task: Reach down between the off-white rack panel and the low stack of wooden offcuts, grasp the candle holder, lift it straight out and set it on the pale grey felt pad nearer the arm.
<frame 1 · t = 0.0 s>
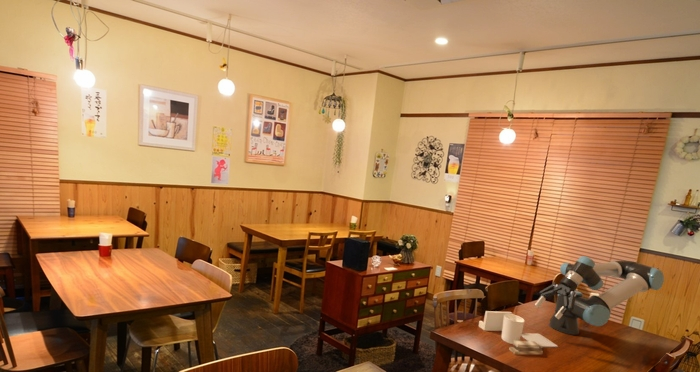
hand: (546, 311, 192), 15 cm above the table, tool tilted 35°, fingers open, 13 cm apart
offcut stack: (525, 352, 176), on the table
felt pad: (537, 340, 192), on the table
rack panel: (496, 330, 197), on the table
candle holder: (509, 340, 187), on the table
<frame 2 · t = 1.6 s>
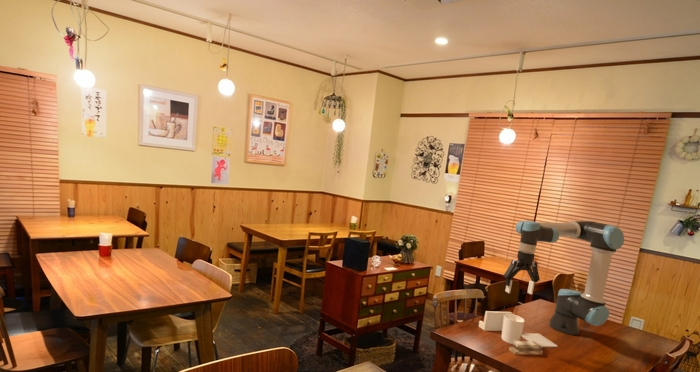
hand: (518, 292, 185), 25 cm above the table, tool pointing down, fingers open, 13 cm apart
nothing on the table moved.
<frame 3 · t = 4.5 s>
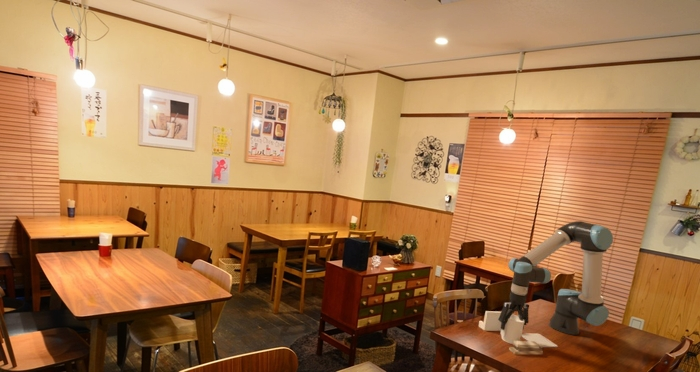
hand: (510, 335, 186), 3 cm above the table, tool pointing down, fingers closed on candle holder, 9 cm apart
candle holder: (509, 340, 187), on the table, touching gripper
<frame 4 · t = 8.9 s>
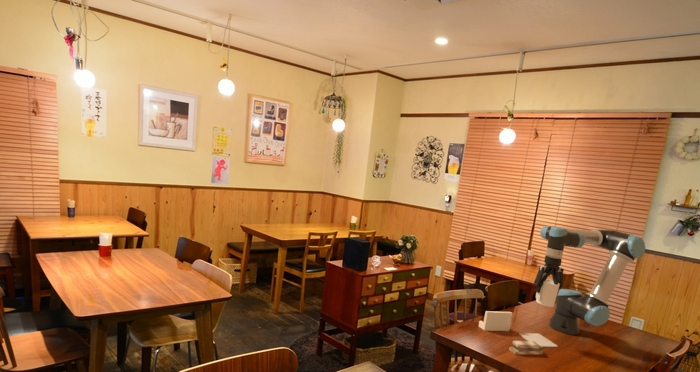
hand: (545, 299, 190), 22 cm above the table, tool pointing down, fingers closed on candle holder, 9 cm apart
candle holder: (544, 304, 190), point 20 cm above the table, touching gripper
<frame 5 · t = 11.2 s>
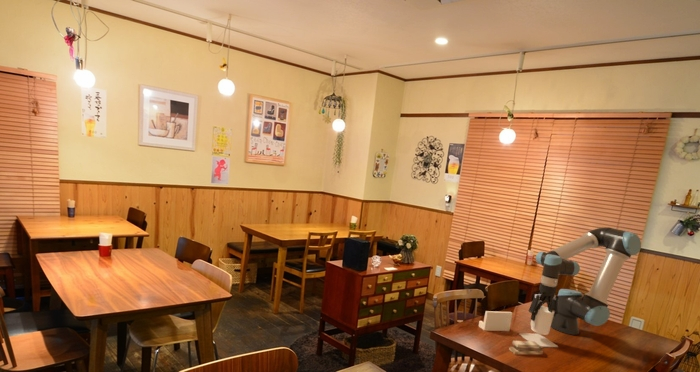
hand: (540, 326, 191), 8 cm above the table, tool pointing down, fingers closed on candle holder, 9 cm apart
candle holder: (539, 331, 191), point 5 cm above the table, touching gripper
when the fingers open (4 cm above the table, at t = 13.0 s): candle holder stays where it is, resting on felt pad.
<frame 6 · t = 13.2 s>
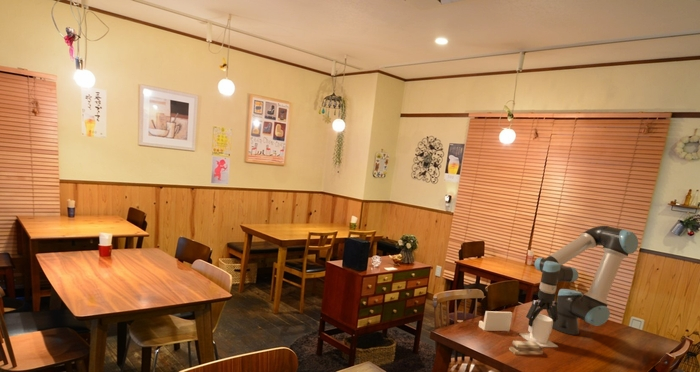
hand: (539, 332, 191), 5 cm above the table, tool pointing down, fingers open, 11 cm apart
candle holder: (538, 339, 192), resting on felt pad
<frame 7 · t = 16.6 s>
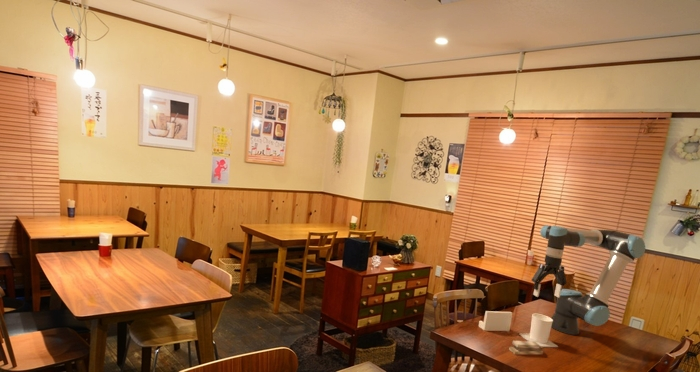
hand: (546, 296, 190), 24 cm above the table, tool pointing down, fingers open, 13 cm apart
nothing on the table moved.
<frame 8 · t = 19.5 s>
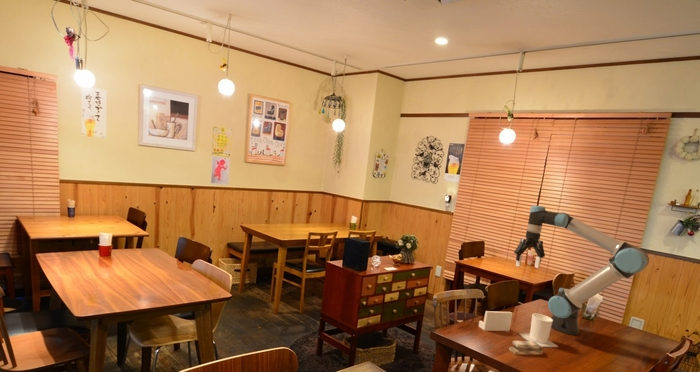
hand: (527, 267, 217), 32 cm above the table, tool pointing down, fingers open, 13 cm apart
nothing on the table moved.
at the end: candle holder inside the target area on the felt pad (0.2 cm from its centre), point 0.4 cm above the felt pad's base; candle holder tilted 0°; the gripper is holding nothing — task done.
